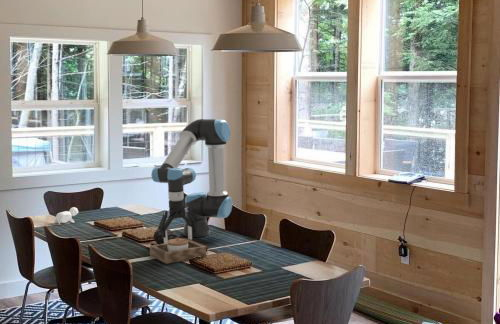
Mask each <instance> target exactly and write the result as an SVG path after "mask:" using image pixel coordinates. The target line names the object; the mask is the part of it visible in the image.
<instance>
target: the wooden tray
mask: <svg viewBox="0 0 500 324" xmlns="http://www.w3.org/2000/svg"><path fill="white" fill-rule="evenodd" d="M187 240H188V249H183V250H177V251H171V252H168V249H167V244H165V243H164V244H158V245H157V244H154V245H149V256H150V257H152V258H154V259H156V260H158V261H160V262H162V263H164V264H172V263H177V262H183V261H187V260H188V261H189V260H191V259H190V258H194V257H199V256H206V257H207V246H206V245H203V244H201V243H199V242H198V243H197V242H195V241H193V240H190V239H188V238H187Z"/></svg>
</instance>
